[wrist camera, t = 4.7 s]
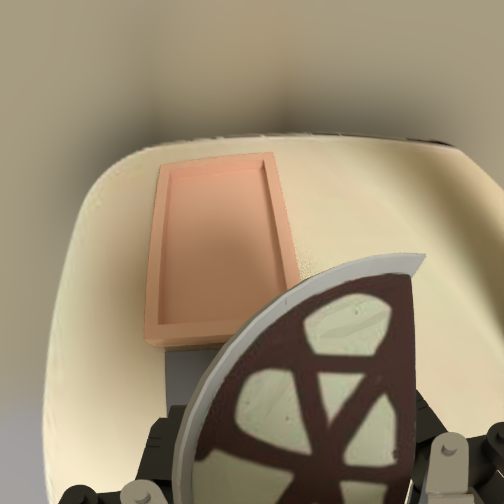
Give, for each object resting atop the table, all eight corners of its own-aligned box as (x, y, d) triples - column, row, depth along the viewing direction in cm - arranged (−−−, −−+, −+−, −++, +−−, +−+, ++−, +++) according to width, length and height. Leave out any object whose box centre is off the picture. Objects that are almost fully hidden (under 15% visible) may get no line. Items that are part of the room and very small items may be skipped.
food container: (238, 326, 17) (212, 212, 8) (344, 338, 16) (423, 238, 8) (200, 526, 10) (130, 616, 2) (315, 539, 10) (368, 636, 1)
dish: (272, 166, 29) (272, 152, 28) (304, 333, 20) (308, 325, 19) (165, 179, 29) (160, 165, 27) (153, 346, 20) (143, 339, 19)
